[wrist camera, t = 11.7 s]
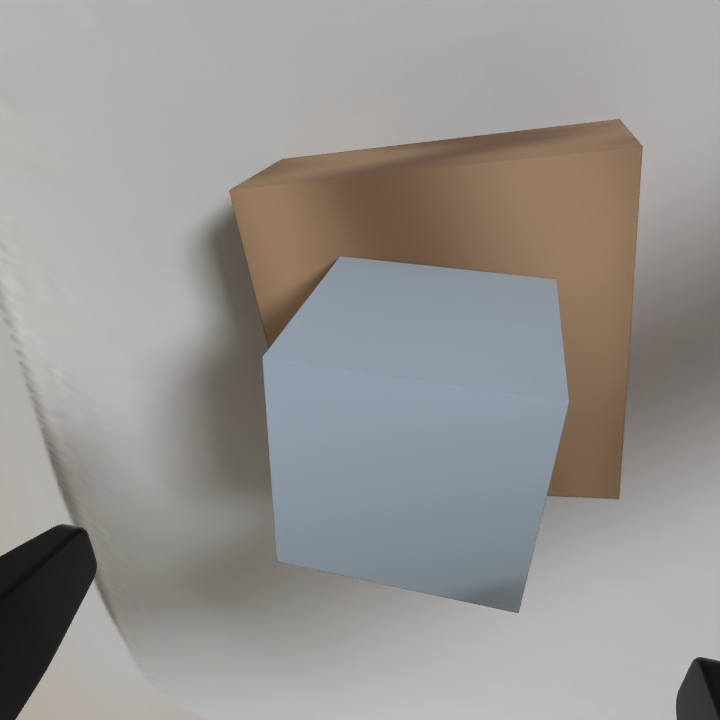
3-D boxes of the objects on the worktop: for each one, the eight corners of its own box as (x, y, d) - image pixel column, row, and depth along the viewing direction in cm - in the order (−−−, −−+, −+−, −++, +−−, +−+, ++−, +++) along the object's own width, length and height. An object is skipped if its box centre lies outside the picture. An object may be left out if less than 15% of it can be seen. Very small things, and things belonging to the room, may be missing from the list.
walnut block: (617, 116, 15) (643, 146, 12) (603, 414, 19) (619, 499, 16) (286, 156, 18) (229, 190, 14) (337, 411, 22) (302, 484, 18)
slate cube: (556, 279, 13) (569, 401, 9) (521, 454, 16) (518, 613, 12) (339, 256, 14) (261, 357, 10) (339, 424, 17) (276, 561, 13)
